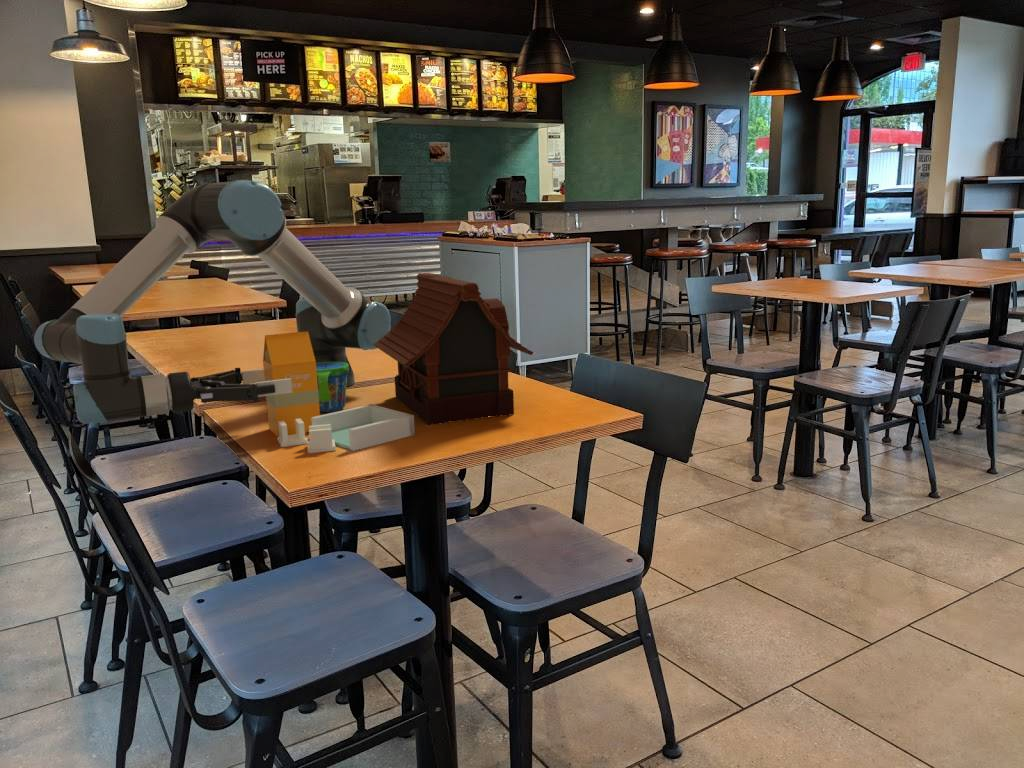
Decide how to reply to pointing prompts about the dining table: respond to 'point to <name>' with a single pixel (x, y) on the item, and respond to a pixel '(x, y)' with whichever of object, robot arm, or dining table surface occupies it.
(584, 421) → the dining table surface
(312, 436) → the white upright piece
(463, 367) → the house
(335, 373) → the snack cup
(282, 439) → the clip
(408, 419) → the tray
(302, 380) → the orange juice
